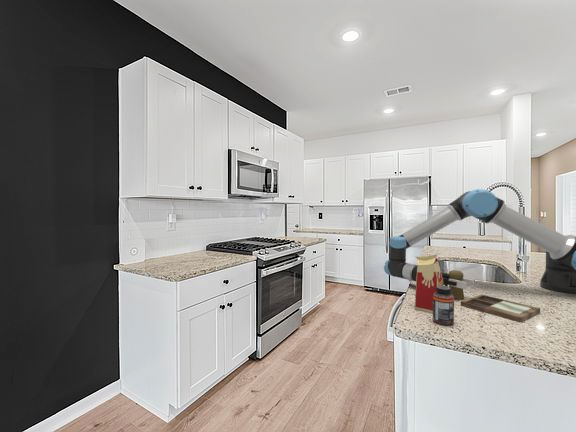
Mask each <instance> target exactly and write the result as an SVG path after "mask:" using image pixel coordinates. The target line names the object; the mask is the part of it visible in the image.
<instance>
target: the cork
mask: <svg viewBox="0 0 576 432" xmlns="http://www.w3.org/2000/svg"><path fill="white" fill-rule="evenodd" d="M448 274H449V277H450V279H454V280H459V281H462V279H463V278H465V277H464V273H463V272H462V271H461V270H456V269H455V270H453V269H452V270H449V272H448ZM448 287H450V288H451V292H450V293H451V294H452V295H453V296H454V301H455V300H456V301H464V300H465V294H464V293H465V292H464V289H462V288H457V287H453V286H449V285H448Z"/></svg>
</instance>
